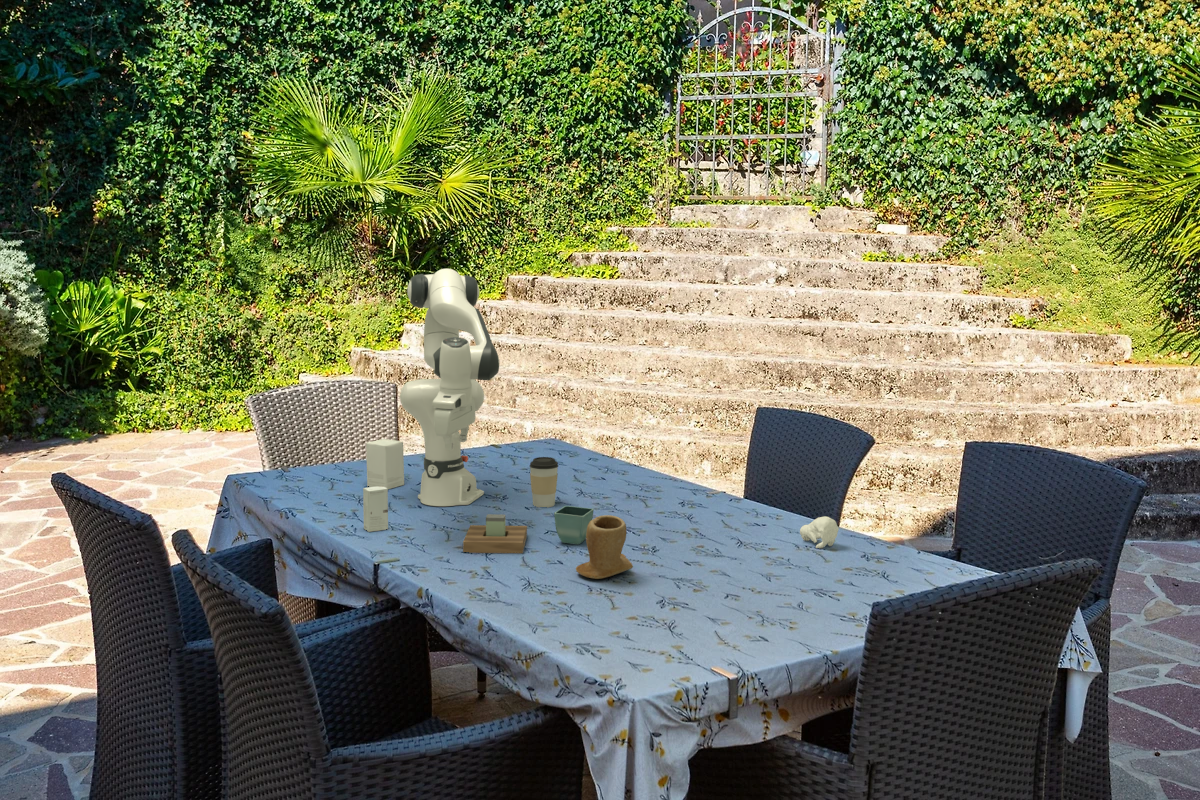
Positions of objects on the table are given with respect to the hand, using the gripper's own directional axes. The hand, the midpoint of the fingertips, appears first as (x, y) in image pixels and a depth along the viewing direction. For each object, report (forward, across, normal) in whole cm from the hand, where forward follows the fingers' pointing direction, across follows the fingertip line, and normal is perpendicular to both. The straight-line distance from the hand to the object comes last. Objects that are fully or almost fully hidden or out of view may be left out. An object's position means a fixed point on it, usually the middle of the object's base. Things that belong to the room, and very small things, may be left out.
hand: (456, 445), depth 304 cm
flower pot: (+26, -3, +34) cm, 43 cm away
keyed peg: (+25, +6, +14) cm, 30 cm away
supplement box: (+28, -43, -45) cm, 68 cm away
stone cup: (+24, +21, +50) cm, 60 cm away
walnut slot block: (+25, +6, +14) cm, 30 cm away
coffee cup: (+27, -38, +13) cm, 48 cm away
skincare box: (+26, +3, -24) cm, 36 cm away
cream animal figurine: (+25, -22, +99) cm, 104 cm away
